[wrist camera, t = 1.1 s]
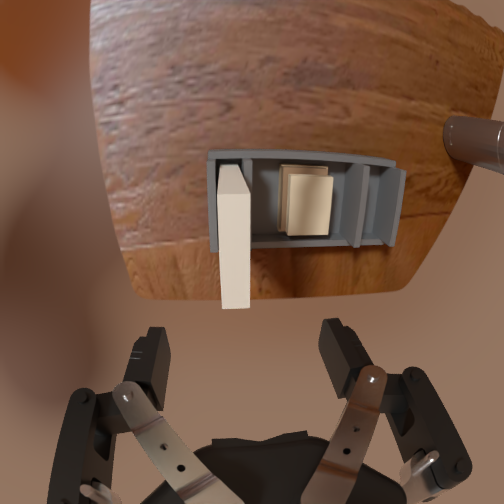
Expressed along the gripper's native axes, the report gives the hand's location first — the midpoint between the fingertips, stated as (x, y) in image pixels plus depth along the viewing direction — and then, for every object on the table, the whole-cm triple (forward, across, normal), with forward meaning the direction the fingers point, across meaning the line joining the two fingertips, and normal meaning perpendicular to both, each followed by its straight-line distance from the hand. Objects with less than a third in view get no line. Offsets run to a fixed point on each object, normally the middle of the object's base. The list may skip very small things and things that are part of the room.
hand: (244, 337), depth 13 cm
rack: (+30, -11, 0) cm, 32 cm away
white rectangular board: (+29, 0, 0) cm, 29 cm away
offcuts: (+29, -11, 0) cm, 31 cm away
